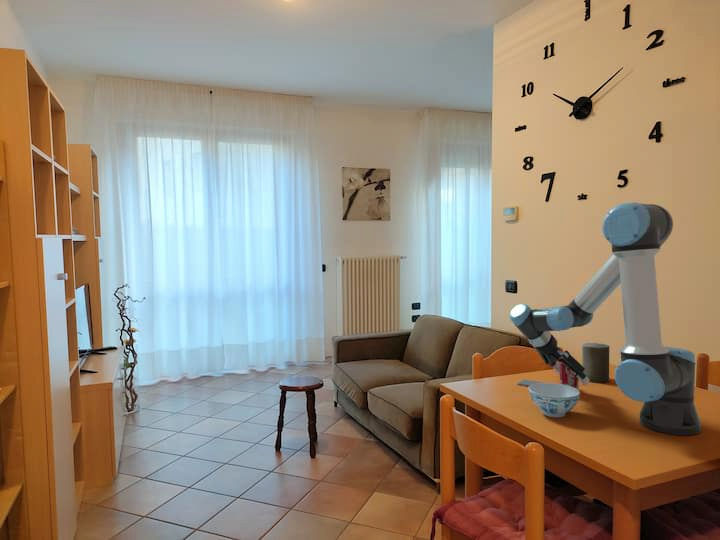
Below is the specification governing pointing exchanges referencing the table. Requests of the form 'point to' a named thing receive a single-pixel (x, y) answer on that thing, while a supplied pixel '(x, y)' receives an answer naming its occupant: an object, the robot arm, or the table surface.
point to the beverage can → (568, 376)
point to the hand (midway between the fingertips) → (575, 379)
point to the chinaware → (554, 398)
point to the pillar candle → (596, 361)
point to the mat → (528, 382)
